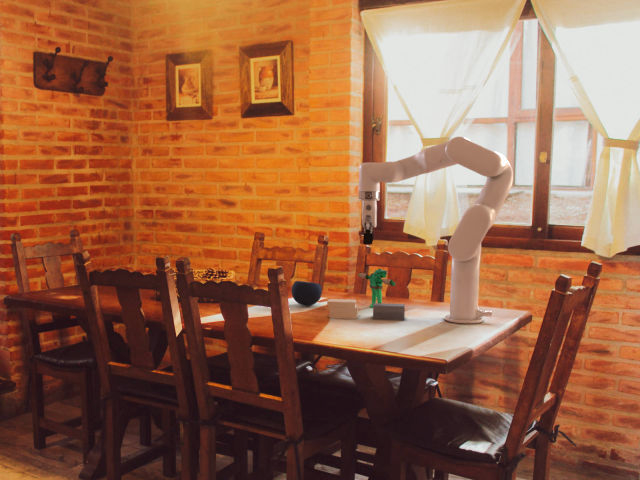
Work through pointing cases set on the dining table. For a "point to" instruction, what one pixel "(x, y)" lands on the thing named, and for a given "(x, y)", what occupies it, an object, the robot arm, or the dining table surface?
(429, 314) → the dining table surface
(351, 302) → the cream book
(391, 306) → the grey book
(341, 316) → the cream book
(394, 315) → the grey book
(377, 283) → the toy
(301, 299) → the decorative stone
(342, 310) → the cream book
